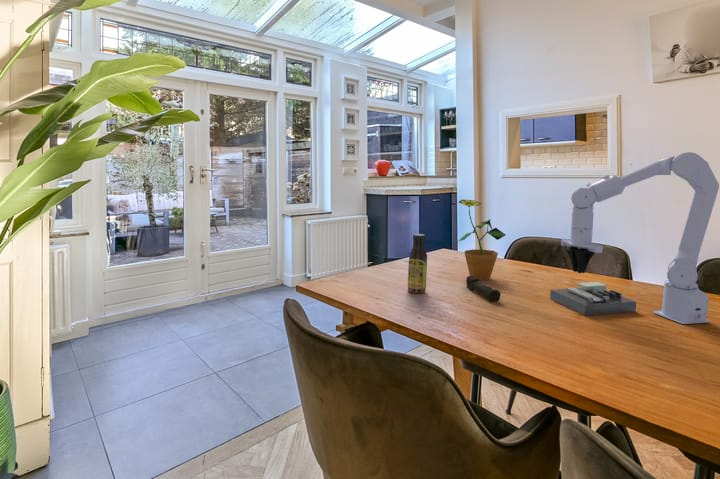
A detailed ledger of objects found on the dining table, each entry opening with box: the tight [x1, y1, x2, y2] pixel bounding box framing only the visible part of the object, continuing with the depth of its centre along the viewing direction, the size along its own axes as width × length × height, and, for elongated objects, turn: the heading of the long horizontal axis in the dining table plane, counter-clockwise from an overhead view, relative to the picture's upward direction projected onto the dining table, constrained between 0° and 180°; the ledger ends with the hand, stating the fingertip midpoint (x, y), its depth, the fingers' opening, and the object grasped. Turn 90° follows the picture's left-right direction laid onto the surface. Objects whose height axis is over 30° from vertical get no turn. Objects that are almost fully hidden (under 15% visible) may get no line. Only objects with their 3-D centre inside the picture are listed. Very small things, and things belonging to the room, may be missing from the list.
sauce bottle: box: [407, 233, 428, 294], centre depth 140 cm, size 7×6×20 cm
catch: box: [576, 281, 607, 292], centre depth 129 cm, size 4×7×2 cm, turn 99°
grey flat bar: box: [565, 287, 604, 302], centre depth 123 cm, size 12×3×1 cm, turn 9°
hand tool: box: [465, 275, 502, 303], centre depth 138 cm, size 19×4×5 cm, turn 10°
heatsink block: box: [549, 287, 637, 316], centre depth 124 cm, size 16×16×4 cm
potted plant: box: [457, 199, 507, 281], centre depth 156 cm, size 18×19×30 cm
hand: (579, 272), depth 126 cm, fingers closed
